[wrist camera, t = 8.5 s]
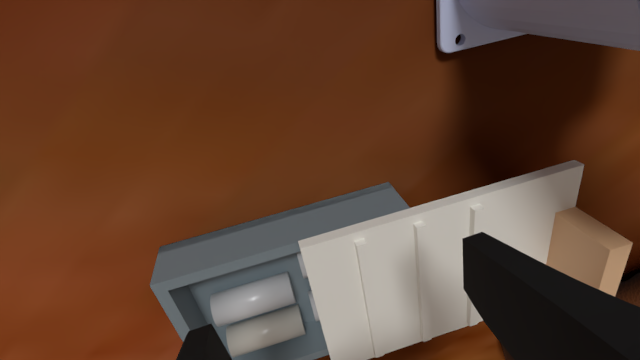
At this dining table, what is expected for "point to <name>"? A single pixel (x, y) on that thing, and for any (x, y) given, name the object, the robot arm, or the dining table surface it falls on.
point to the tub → (259, 277)
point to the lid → (449, 259)
